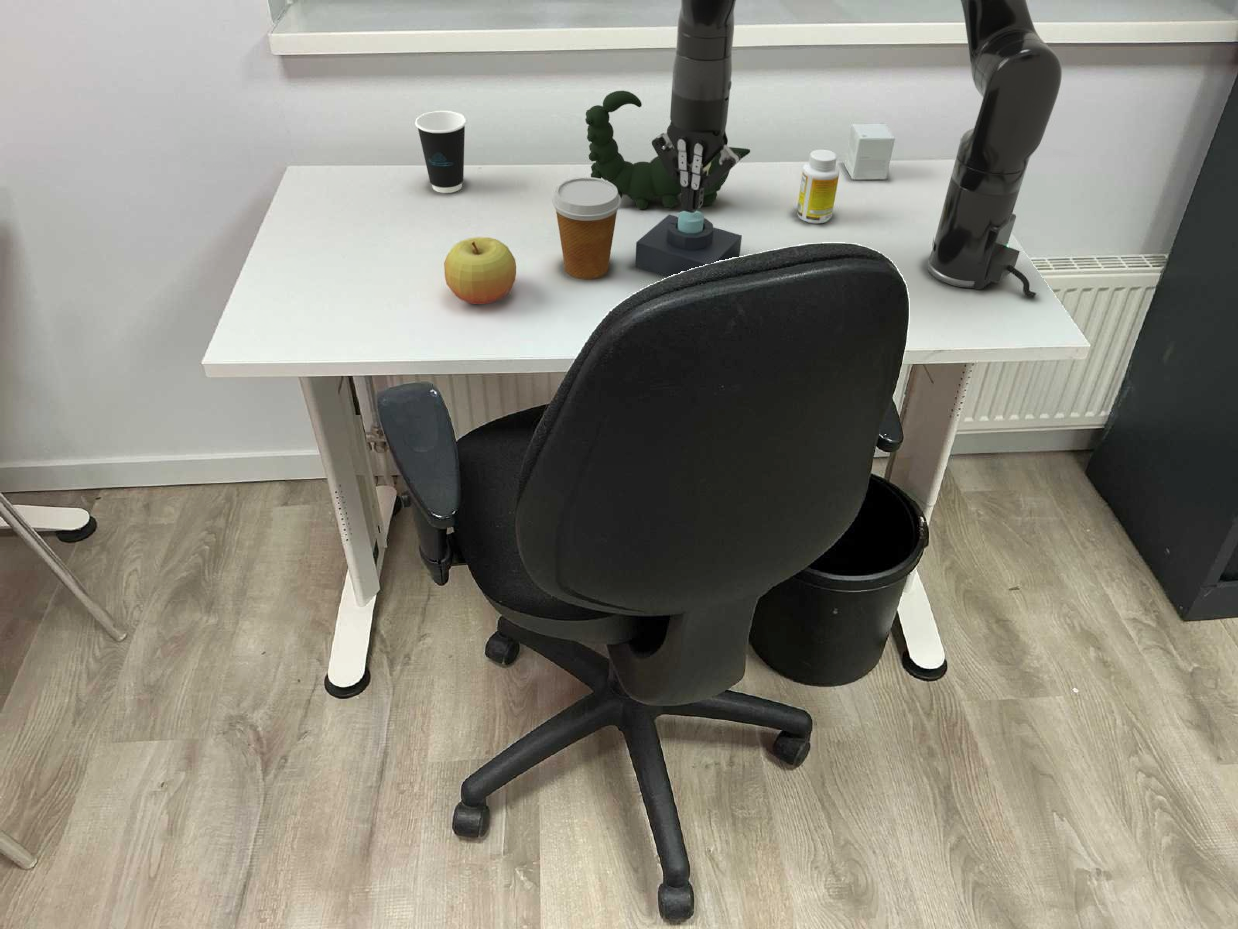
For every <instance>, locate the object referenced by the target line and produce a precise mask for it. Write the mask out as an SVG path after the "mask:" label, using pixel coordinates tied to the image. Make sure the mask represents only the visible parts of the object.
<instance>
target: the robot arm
mask: <svg viewBox="0 0 1238 929" xmlns="http://www.w3.org/2000/svg"><path fill="white" fill-rule="evenodd" d="M959 1H960V4H961V8H962V12H963V18H964V24H965V25H964V26H965V32H966V40H967V47H968V48H967V49H968V56H969V57H968V58H969V65H970V66H969V67H970V73H971V78H972V81H973V84H974V86H975V88H976V90H977V92H978V93H979V94H980V96H981V97H982V101H981V104H980V107H979V111H978V115H977V118H976V121H975V124H974V127H973V128H970V129H968V130H967V131H966V132H964V133H963V134H962V136H961V138H960V141H959V144H958V148H957V152H956V156H955V160H954V164H953V168H952V172H951V175H950V180H949V183H948V187H947V189H946V190H947V191H946V195H945V198H944V203H943V207H942V209H941V214H940V218H939V220H938V221H939V222H938V226H937V231H936V234H935V236H934V237H933V238H932V242H931V252H930V255H929V257H928V261H927V269H928V272H929V273H930V274H931V275H932V276H933V278H935V279H937V280H938V281H940V282H942V283H945V284H947V285H951V286H955V287H959V288H972V289H976V290H978V291H982V290H983V289H984V288H985V287H986V286H988V284H990V283H991V282H992V283H995V284H997V285H999V284H1001V282H1003V281H1004V280H1005V279H1006V278H1007V277H1008V276H1009V275H1010V274H1012V275H1013V276H1015V277H1016V278H1017V279H1018V280H1019V281H1021V284H1022V291H1023V294H1024V295H1025V296H1026V297H1027V298H1031V299H1034V298H1035V297H1036V295H1037V292H1036V291H1031V290H1030V287H1031V286H1030V281H1029V279H1028V278H1027V276H1026V275H1025V274H1024V273H1023V272H1021V271H1020V270H1018V269H1017V268H1016V264H1017V261H1018V258H1019V255H1020V253H1021V251H1020V250H1018V249H1015V248H1013V247H1010V246H1009V241H1010V238H1011V235H1012V232H1013V229H1014V225H1015V222H1016V219H1017V215H1016V214H1015V213H1014V210H1015V206H1016V204H1017V201H1018V196H1019V194H1020V191H1021V187H1022V184H1023V181H1024V179H1025V176H1026V175H1025V174H1026V171H1027V169H1028V165H1029V162H1030V159H1031V157H1032V156H1033V154H1034V153H1035V152H1036V150H1038V148H1039V146H1040V144H1041V142H1042V140H1043V139H1044V138H1043V137H1044V135H1045V132H1046V130H1047V126H1048V125H1049V122H1050V118H1051V116H1052V113H1053V110H1054V107H1055V105H1056V102H1057V99H1058V96H1059V92H1060V89H1061V83H1062V78H1063V77H1062V76H1063V69H1062V63H1061V61H1060V59H1059V57H1058V55H1057V54H1056V53H1055V52H1054V50H1052V49H1051V47H1050V46H1049V45H1048V44H1047V43H1046V42H1044V40H1043V39H1042V38H1041V37H1040V35H1039V34H1038V32H1037V30H1036V28H1035V25H1034V23H1033V19H1032V17H1031V14H1030V11H1029V7H1028V4H1027V0H959ZM736 2H737V0H680V9H679V12H678V19H677V20H678V21H677V28H676V29H677V31H676V34H677V35H676V46H675V47H676V48H675V57H674V62H673V66H672V81H671V83H672V84H671V94H670V96H671V97H670V113H669V114H670V115H669V119H670V123H669V125H668V127H667V129H666V132H665V133H664V132H663V133H661V134H659V135H658V136H656V137H655V138H653V139H652V141H651V146H652V148H653V149H654V151H655V154H656V155H657V156H659V158H660V160H661V162H662V164H663V165H664V167H665V169H666V171H667V173H668V174H669V176H670V178H672V179H677V180H678V181H679V182H680V183H681V193H680V202H679V203H680V206H681V207H682V211H686V212H690V213H694V212H695V211H699V209H700V208H702V206H703V196H704V188H706V189H709V188H711V187H712V186H713V185H714V184H715V183H716V182H717V181H719V180H720V179H721V178H722V177H723V176H724V175H725V174H726V173H727V172H728V171H729V170H730V171H731V169H733V168H734V167H735V166H736V165H737V164H738V163H739V162H740V161H741V160H742V159H741V155H740V154H739V153H733V152H732V150H731V149H730V148H729V147H730V146H728V143H729V139H728V138H729V137H728V135H727V132H726V129H727V124H728V115H729V114H728V113H729V104H730V95H731V94H730V93H731V89H732V75H733V74H732V73H733V72H732V71H733V64H732V60H733V59H732V57H733V54H732V53H733V44H734V33H735V7H736ZM719 153H721V157H720V159H719V164H720V165H721V166H720V167H719V168H717V169H716V170H715V171H714V172H713V173H712V174H711V175H708V170H709V168H710V166H711V161H713V160H714V159H715V158H716V157H717V155H718V154H719Z"/></svg>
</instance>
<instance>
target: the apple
mask: <svg viewBox="0 0 1238 929" xmlns="http://www.w3.org/2000/svg"><path fill="white" fill-rule="evenodd" d="M443 267H444V268H443V270H444V279H445V283H446V286H447V287H448V288H449V290H450V291H451V292H452V293H453V294H454V296H455V297H457V298H458V299H459V300H461V301H464V302H466V303H467V304H473V305H487V304H491V303H495V302H497V301H498V300H500V299H502V298H504V297H505V296H506V294H508V292H510V290H511V289H512V288H513V286H514V284H515V282H516V276H517V262H516V258H515V256H514V255H513V253H512V251H511V250H510V248H509V247H508V245H506V244H505V243H503V242H502V241H500V240H499V239H496V238H492V237H485V236H484V237H483V236H478V237H477V236H476V237H470V238H468V239H467V238H466V239H464V240H461V241H459V242H457V243H455V245H453V246H452V248H451V249H450V250H449V252H448V253H447V255H446V257H445V259H444V263H443Z"/></svg>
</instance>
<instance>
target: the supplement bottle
mask: <svg viewBox="0 0 1238 929" xmlns="http://www.w3.org/2000/svg"><path fill="white" fill-rule="evenodd" d="M808 160H809V161H808V162H807V163H805V164H804V165H803V167H802V171H801V172H802V173H801V178H800V186H799V193H798V199H797V207H796V214H797V217H798V218H799V219H800V220H802V221H804V222H806V223H809V224H823V223H824V224H825V223H827V222H829V221H830V220H831V218H832V217H833V212H834V208H835V201H836V195H837V194H836V193H837V189H838V183H839V179H840V178H839V177H840V168H839V166H837V160H838V155H837V154H836V153H835V152H834V151H832V150H829V149H815V150H813V151H811V152H810V155H809V159H808Z"/></svg>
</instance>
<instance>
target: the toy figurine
mask: <svg viewBox="0 0 1238 929" xmlns="http://www.w3.org/2000/svg"><path fill="white" fill-rule="evenodd" d="M642 103H643V102H642V101H641V99H640V98H639V97H638V96H637V95H635V94H634V93H632V92H631V91H628V90H615V91H613V92H610V93H608V94H607V95H606V96H605V97H604V99H603V101H602V105H600V104H599V105H598V104H597V105H596V104H595V105H593V106H592V107H590V108H589V109H587V110H586V112H585V123H586V125H587V130H586V131H587V135H586V139H587V141H588V142H590V144H589V145H588V148H589V151H590V153H589V154H588V159H589V161H591V162H593V163H592V164H591V166H590V169H591V173H590V177H593V178H599V179H603V180H606V181H609V182H610V183H612V184H613V185H615V186H616V188H617V190H618V194H619V195H620V197H621V200H622V199H623V196H628V197H629V198H630V199H632V200H634V201H635V206H636V208H638V209H640V210H646V209H647V207H648V206H649V201H652V200H654V199H656V198H658V199H661V204H662V205H663V206H664V207H665V208H668V209H669V208H670V209H672V208H673V207H675V206H677V204H678V198H679V196H680V195H681V183H680V182H679V181H678V180H677V179H672V178H670V176H669V174H668V173H667V171H666V169H665V167H664V165H663V164H662V162H661V160H660V158H659V156H658V155H657V156H655V157H654V158H652V160H650V162H649V161H644V160H643V161H637V162H633V163H632V162H631V161H628V160H625V159H624V156H623V155H622V154H621V153H620V152H619V145H618V143H617V141H616V140H615V138H614V133H615V132H614V128H613V125H612V124H611V123H610V113H613V112H615V111H617V110H619V109H621V107H623V106H626V105H634V106H636V107H638V108H641V107H642V106H643V104H642ZM728 147H729V148H730V149H731V150H732V152H733V153H739V154H740V155H741V160H742V159H744V158H745V157H746V156H748V155H749V154H750V153H751V149H749V148H746V147H745V148H744V147H733V146H728ZM720 157H721V153H719V154H718V155H717V157H716V158H715V159H714V160H713V161H711V166H710V168H709V170H708V175H711V174H712V173H713V172H714V171H715V170H716V169H717V168H719V167H720V166H721V165H720V164H719V159H720ZM730 171H731V169H730V170H729V171H728V172H727V173H726V174H725V175H724V176H723V177H722V178H721V179H720V180H719V181H717V182H716V183H715V184H714V185H713V186H712V187H711V188H709V189H706V188H704V196H703V204H702V206H711V205H713V204H714V203H715V202H716V201H717V197H718V192H719V191H721V189H722V187H723V185H724V184H725V182H726V181H727V179H728V178H729V174H730Z"/></svg>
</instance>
